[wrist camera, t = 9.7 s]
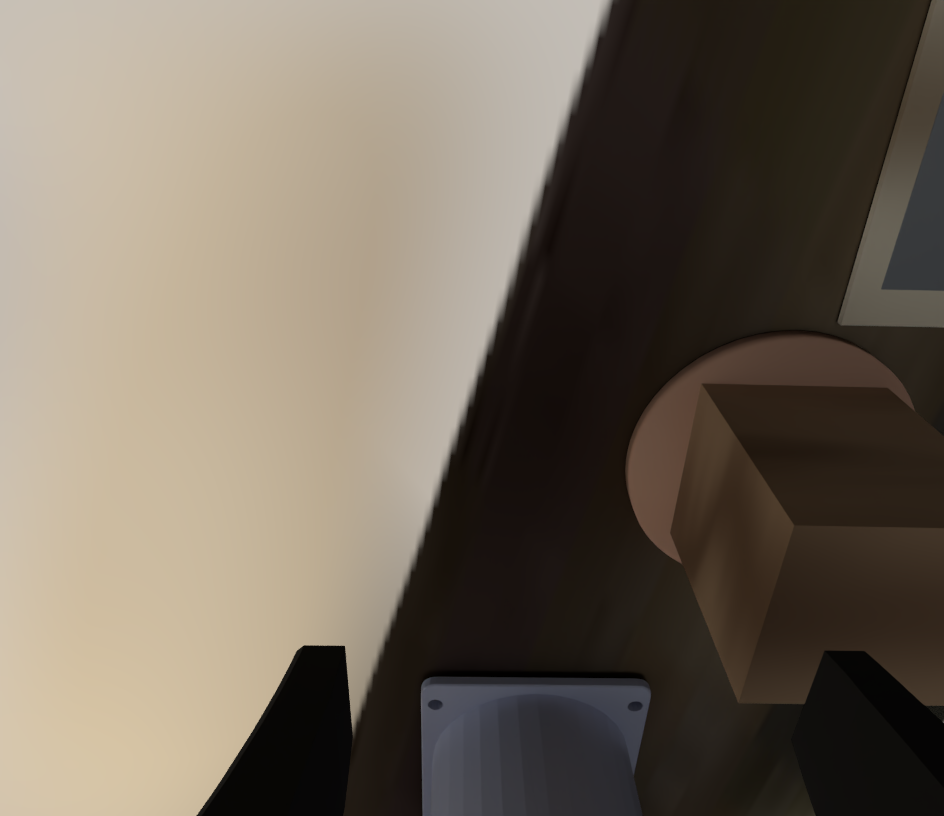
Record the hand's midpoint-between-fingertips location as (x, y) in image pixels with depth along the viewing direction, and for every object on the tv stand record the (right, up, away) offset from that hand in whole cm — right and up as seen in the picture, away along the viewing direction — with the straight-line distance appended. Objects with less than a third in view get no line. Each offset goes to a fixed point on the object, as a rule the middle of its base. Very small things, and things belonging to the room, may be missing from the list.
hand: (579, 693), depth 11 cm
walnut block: (+7, +3, +9) cm, 12 cm away
